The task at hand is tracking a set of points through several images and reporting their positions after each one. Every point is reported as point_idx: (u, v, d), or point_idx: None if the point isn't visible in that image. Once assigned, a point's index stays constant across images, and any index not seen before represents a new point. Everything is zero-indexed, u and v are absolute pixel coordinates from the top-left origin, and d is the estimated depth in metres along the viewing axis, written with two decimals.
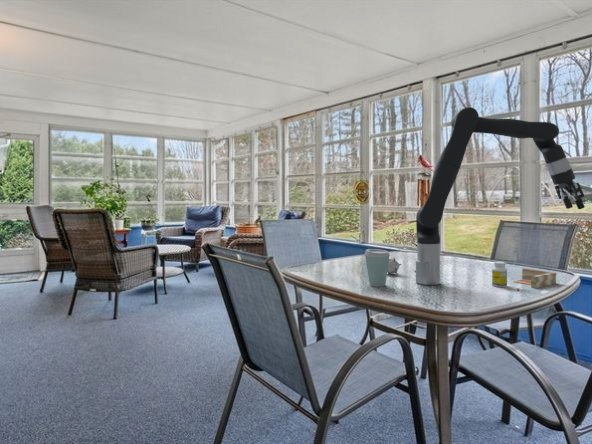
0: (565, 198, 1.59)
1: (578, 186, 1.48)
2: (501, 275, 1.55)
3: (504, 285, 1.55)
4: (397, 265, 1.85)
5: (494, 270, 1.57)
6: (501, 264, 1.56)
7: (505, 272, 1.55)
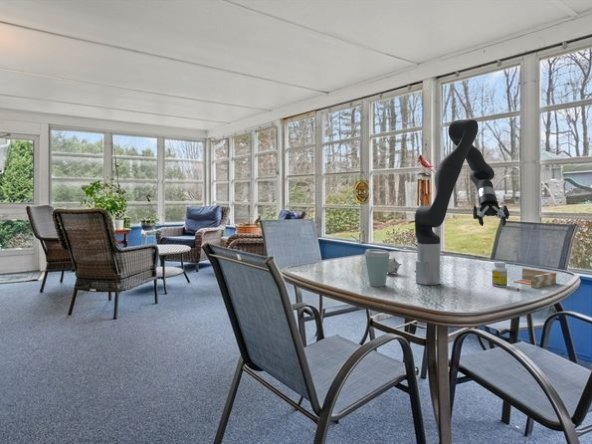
0: None
1: None
2: (501, 275, 1.55)
3: (504, 285, 1.55)
4: (397, 265, 1.85)
5: (494, 270, 1.57)
6: (501, 264, 1.56)
7: (505, 272, 1.55)
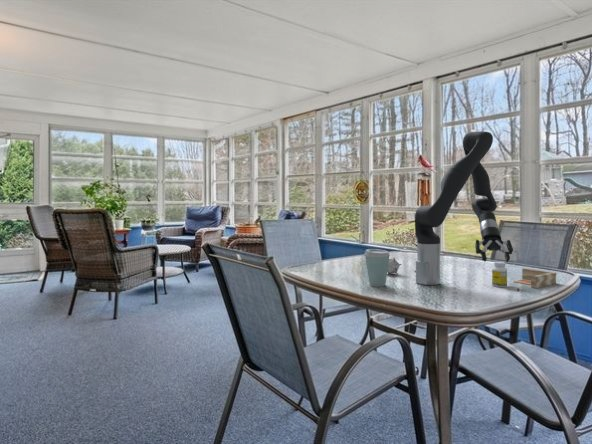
0: None
1: None
2: (501, 275, 1.55)
3: (504, 285, 1.55)
4: (397, 265, 1.85)
5: (494, 270, 1.57)
6: (501, 264, 1.56)
7: (505, 272, 1.55)
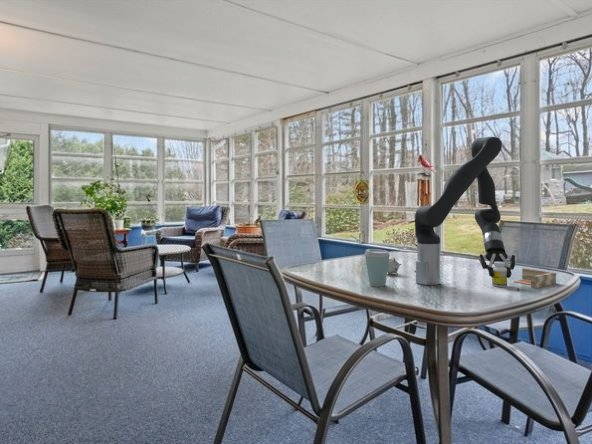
0: None
1: None
2: (501, 275, 1.55)
3: (504, 285, 1.55)
4: (397, 265, 1.85)
5: (494, 270, 1.57)
6: (501, 264, 1.56)
7: (505, 272, 1.55)
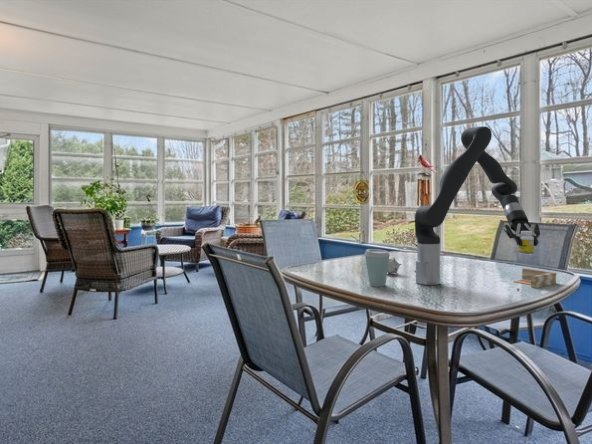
0: None
1: None
2: (529, 243, 1.59)
3: (532, 253, 1.60)
4: (397, 265, 1.85)
5: (522, 239, 1.61)
6: (529, 233, 1.60)
7: (533, 240, 1.60)
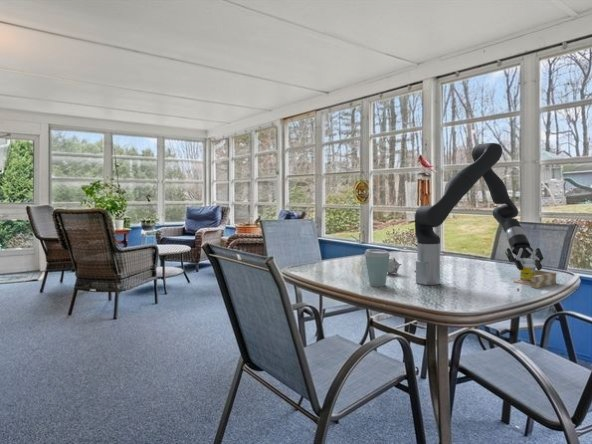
0: None
1: None
2: (531, 271, 1.61)
3: None
4: (397, 265, 1.85)
5: (524, 266, 1.62)
6: (530, 260, 1.61)
7: (534, 268, 1.61)
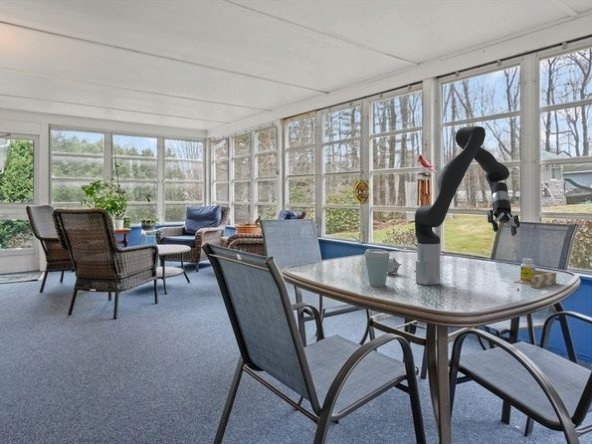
0: None
1: None
2: (531, 271, 1.61)
3: None
4: (397, 265, 1.85)
5: (524, 266, 1.62)
6: (531, 261, 1.61)
7: (534, 268, 1.61)
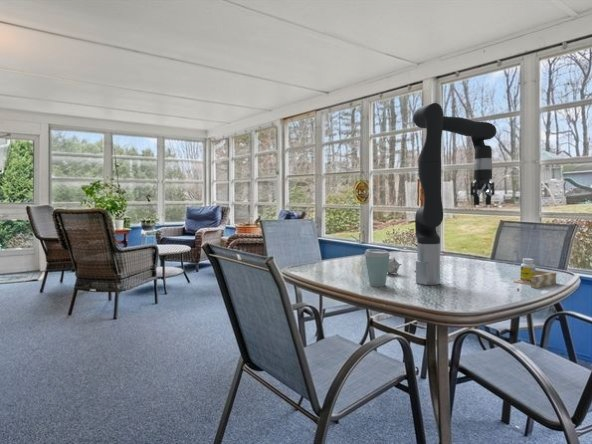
0: None
1: None
2: (531, 271, 1.61)
3: None
4: (397, 265, 1.85)
5: (524, 267, 1.62)
6: (531, 261, 1.61)
7: (534, 268, 1.61)
